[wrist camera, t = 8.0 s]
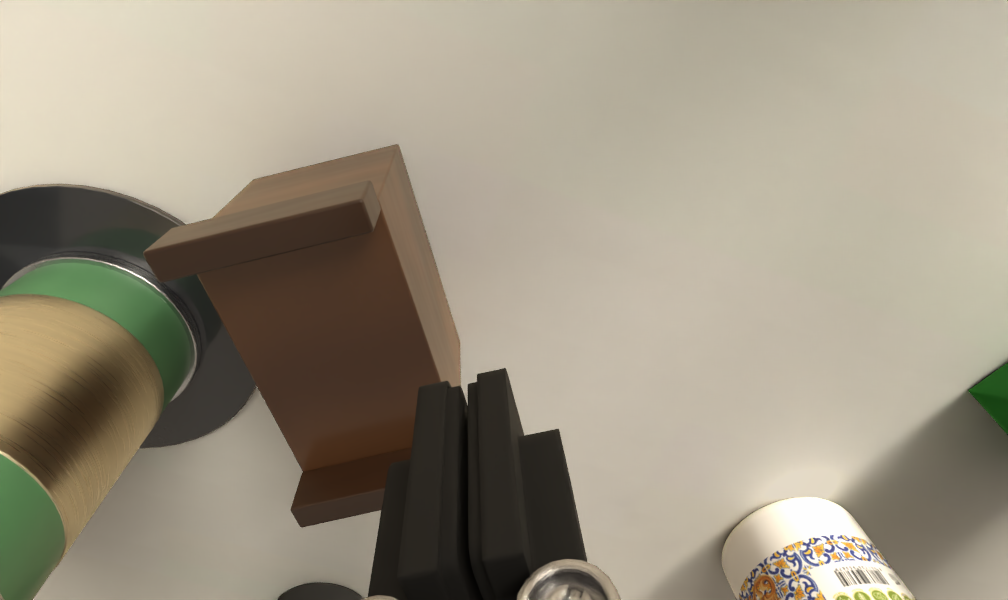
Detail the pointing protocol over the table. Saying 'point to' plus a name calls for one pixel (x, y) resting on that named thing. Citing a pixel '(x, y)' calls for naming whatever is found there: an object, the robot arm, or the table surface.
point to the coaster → (126, 235)
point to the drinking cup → (320, 592)
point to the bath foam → (807, 556)
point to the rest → (328, 316)
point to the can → (78, 397)
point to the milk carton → (994, 395)
